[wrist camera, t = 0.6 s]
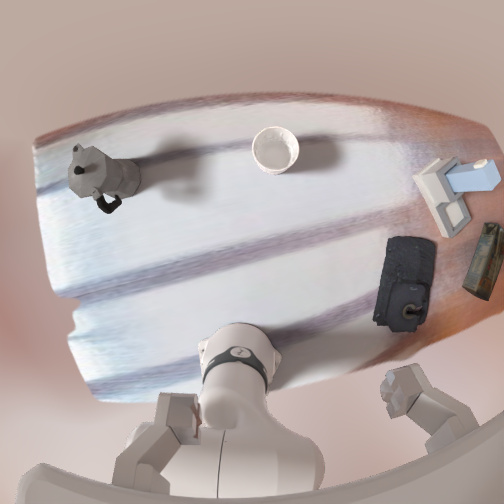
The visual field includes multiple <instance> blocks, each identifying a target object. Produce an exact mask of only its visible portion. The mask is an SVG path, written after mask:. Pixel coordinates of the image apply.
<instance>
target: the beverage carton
mask: <svg viewBox="0 0 504 504" xmlns="http://www.w3.org/2000/svg"><path fill="white" fill-rule="evenodd" d="M503 259H504V230H503V229H502V227H501V226H500V225H499V224H493V223H484V227H483V230H482V233H481V236H480V239H479V242H478V246H477V249H476V252H475V254H474V257H473V260H472V263H471V266H470V268H469V271H468V274H467V276H466V278H465V281H464V283H463V286H462V287H463V288H465V289H466V290H467V291H468V292H470V293H471V294H473V295H474V296H476V297H478V298H480V299H483V300H486V301H489V298H490V296H491V293H492V290H493V288H494V285H495V282H496V280H497V277H498V274H499V271H500V268H501V265H502V262H503Z"/></svg>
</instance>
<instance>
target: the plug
mask: <svg viewBox="0 0 504 504" xmlns="http://www.w3.org/2000/svg"><path fill="white" fill-rule="evenodd" d="M444 175H445V176H446V178H447V180H448V182H449V184H450V186H451V189H452V191H453V192H467V191H489V190H493V189H494V188H495V186H496V185H497V184H498V183H499V182H500V181H501V177H500V175H499V172H498V170H497V168H496V165H495V163H494V161H493V159H492V160H486V159H485V160H479V161H477V162H475V163H470V164H464V165H459V166H454V167H452V168H451V169H450V170H448V171H447V172H446V173H445V174H444Z"/></svg>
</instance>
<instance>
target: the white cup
mask: <svg viewBox="0 0 504 504" xmlns="http://www.w3.org/2000/svg"><path fill="white" fill-rule="evenodd" d="M252 152H253V156H254V158H255V161H256V163H257V165H258V166H259V168H260V169H261V170H262V171H263V172H265V173H267V174H270V175H278V174H280V173H282V172H284V171H286V170H287V169H288V168H290V167H291V166H292V165H293V164H294V163H295V161H296V160H297V158H298V155H299V144H298V141H297V139H296V137H295V136H294V135H293V134H292V133H291V132H290V131H289V130H287V129H285V128H282V127H277V126H273V127H268V128H265V129H263V130H262V131H260V132H259V133H258V134H257V135H256V137H255V138H254V141H253V144H252Z"/></svg>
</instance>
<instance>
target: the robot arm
mask: <svg viewBox="0 0 504 504" xmlns="http://www.w3.org/2000/svg"><path fill="white" fill-rule="evenodd" d="M198 348H199V356H200V364H201V372H202V380H203V387H202V390H201V393H200V396H199V400H198V396H197V394H184V393H162V392H160V394H159V396H158V401H157V406H156V412H155V417H154V422H143V423H142V424H140V425H138V426H137V427H136V428H135V429H134V430H133V431H132V432H131V433H130V435H129V437H128V438H127V440H126V443H125V447H124V451H123V453H121V454H120V455H119V456H118V457H117V458H116V463H115V468H114V473H113V479H112V484H106V483H103V482H99V481H95V480H92V479H88V478H85V477H82V476H79V475H76V474H73V473H70V472H67V471H64V470H62V469H59V468H56V467H54V466H51V465H49V464H45V463H40V464H38V465H36V466H35V467H33V468H32V469H30V470H29V471H28V472H26V473H25V474H24V475H23V476H22V477H21V478H20V481H19V484H18V488H17V493H16V498H15V504H504V411H503V412H501V413H500V414H499V415H497V416H495V417H494V418H492V419H491V420H489V421H488V422H486V423H485V424H483V425H482V426H479V424H478V422H477V420H476V418H475V417H474V415H473V413H472V411H471V409H470V408H469V407H467V406H466V405H465V404H463V403H461V402H459V401H458V400H456V399H454V398H452V397H451V396H449V395H447V394H445V393H444V392H442V391H440V390H439V389H437V388H432V386H431V384H430V382H429V381H428V379H427V377H426V376H425V374H424V372H423V370H422V369H421V367H420V365H419V364H417V363H414V364H411V365H408V366H403V367H400V368H397V369H393V370H389V371H388V372H387V373H386V375H385V376H386V379H385V380H384V381H383V382H382V384H381V387H380V392H381V397H382V399H383V400H384V401H385V402H387V407H386V408H387V411H388V413H389V416H390V418H391V419H392V418H395V417H398V416H402V415H405V414H406V415H407V416H408V417H409V418H410V419H412V420H413V421H414V422H415V423H417V424H418V425H419V426H420V427H421V428H423V429H424V430H425V431H426V432H428V433H429V434H430V435H431V437H430V438H429V439H428V440H427V441H426V443H425V447H426V449H427V452H428V455H426V456H423V457H421V458H419V459H417V460H414V461H412V462H409V463H407V464H404V465H402V466H399V467H397V468H394V469H391V470H388V471H385V472H383V473H379V474H376V475H373V476H370V477H367V478H364V479H360V480H357V481H353V482H349V483H345V484H341V485H336V486H332V487H328V488H323V489H318V488H319V487H320V485H321V483H322V480H323V478H324V473H325V462H324V458H323V455H322V453H321V451H320V450H319V448H318V446H317V445H316V444H315V443H314V442H313V441H312V440H311V439H310V438H307V437H304V436H302V435H299V434H297V433H295V432H293V431H291V430H289V429H288V428H286V427H285V426H283V425H282V424H281V423H279V422H278V421H277V420H276V419H275V418H274V417H273V415H272V414H271V413H270V412H269V410H268V408H267V403H266V396H267V395H268V393H269V390H270V387H268V385H269V384H272V381H273V378H272V377H273V376H274V374H275V372H276V370H277V368H278V366H279V364H280V362H281V358H282V356H281V354H280V353H279V352H278V351H277V350H276V349H274V348H273V346H272V345H271V342H270V340H269V339H268V337H267V336H266V335H265V334H264V333H263V332H262V331H261V330H260V329H258V328H256V327H254V326H252V325H248V324H243V323H234V324H229V325H226V326H224V327H222V328H220V329H219V330H217V331H216V332H215V333H214V334H213V335H212V336H211V337H209V338H206V339H203V340H201V341H200V342H199V345H198ZM203 349H204V351H203ZM275 361H276V362H275ZM202 420H203V422H204V423H205V424H206V426H207V427H201V426H200V425H201V424H202Z"/></svg>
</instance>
